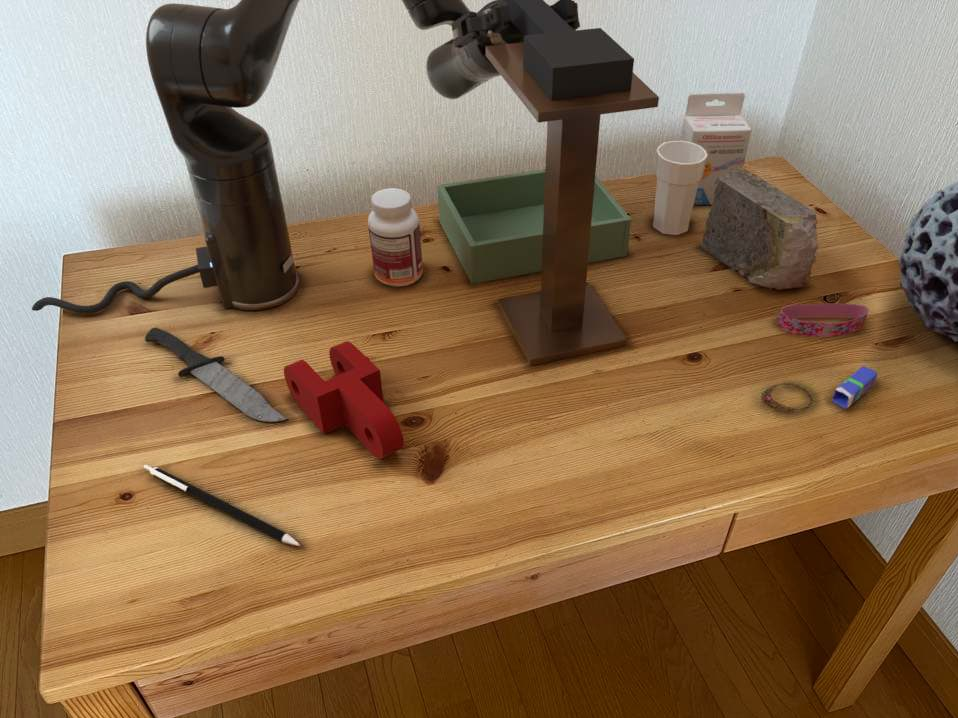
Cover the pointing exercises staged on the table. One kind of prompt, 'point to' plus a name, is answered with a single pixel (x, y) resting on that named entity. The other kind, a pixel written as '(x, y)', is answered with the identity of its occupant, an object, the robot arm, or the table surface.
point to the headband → (822, 310)
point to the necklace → (768, 399)
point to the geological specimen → (761, 232)
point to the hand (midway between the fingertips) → (538, 10)
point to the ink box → (716, 137)
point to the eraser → (854, 387)
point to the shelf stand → (564, 218)
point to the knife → (217, 377)
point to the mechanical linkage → (347, 399)
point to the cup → (677, 184)
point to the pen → (222, 505)
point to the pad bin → (518, 224)
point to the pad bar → (569, 54)
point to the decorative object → (933, 262)
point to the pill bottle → (395, 238)
